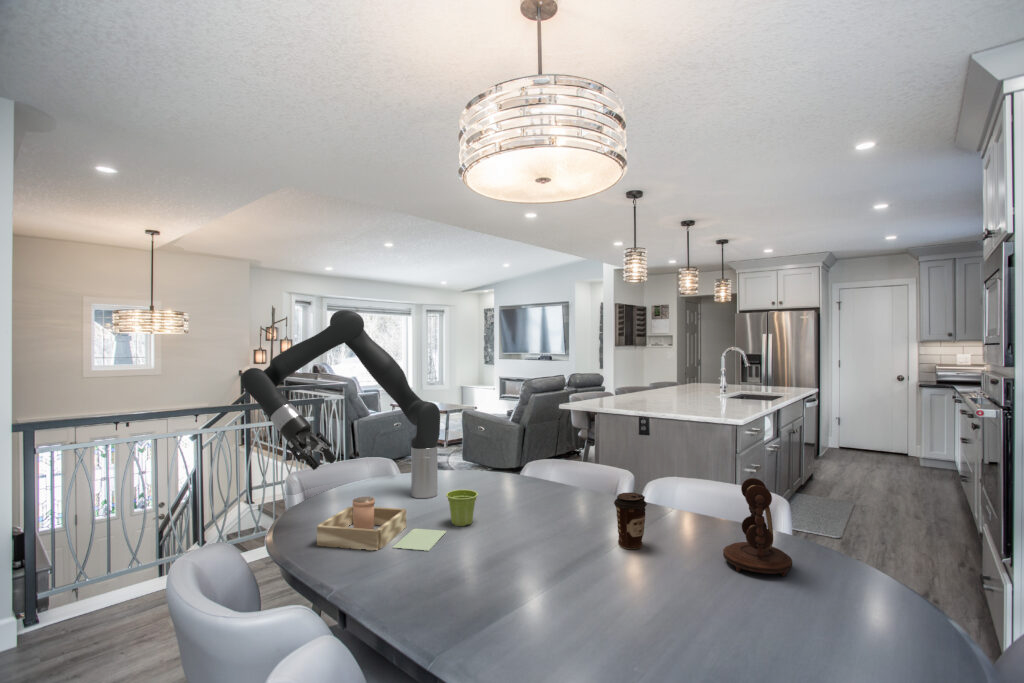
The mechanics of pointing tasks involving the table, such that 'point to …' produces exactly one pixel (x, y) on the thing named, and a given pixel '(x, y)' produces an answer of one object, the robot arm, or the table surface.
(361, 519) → the seedling pot
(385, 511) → the frame
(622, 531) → the coffee cup
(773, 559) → the brown wooden stand
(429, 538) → the green mat
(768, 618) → the table surface
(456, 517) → the plant pot
